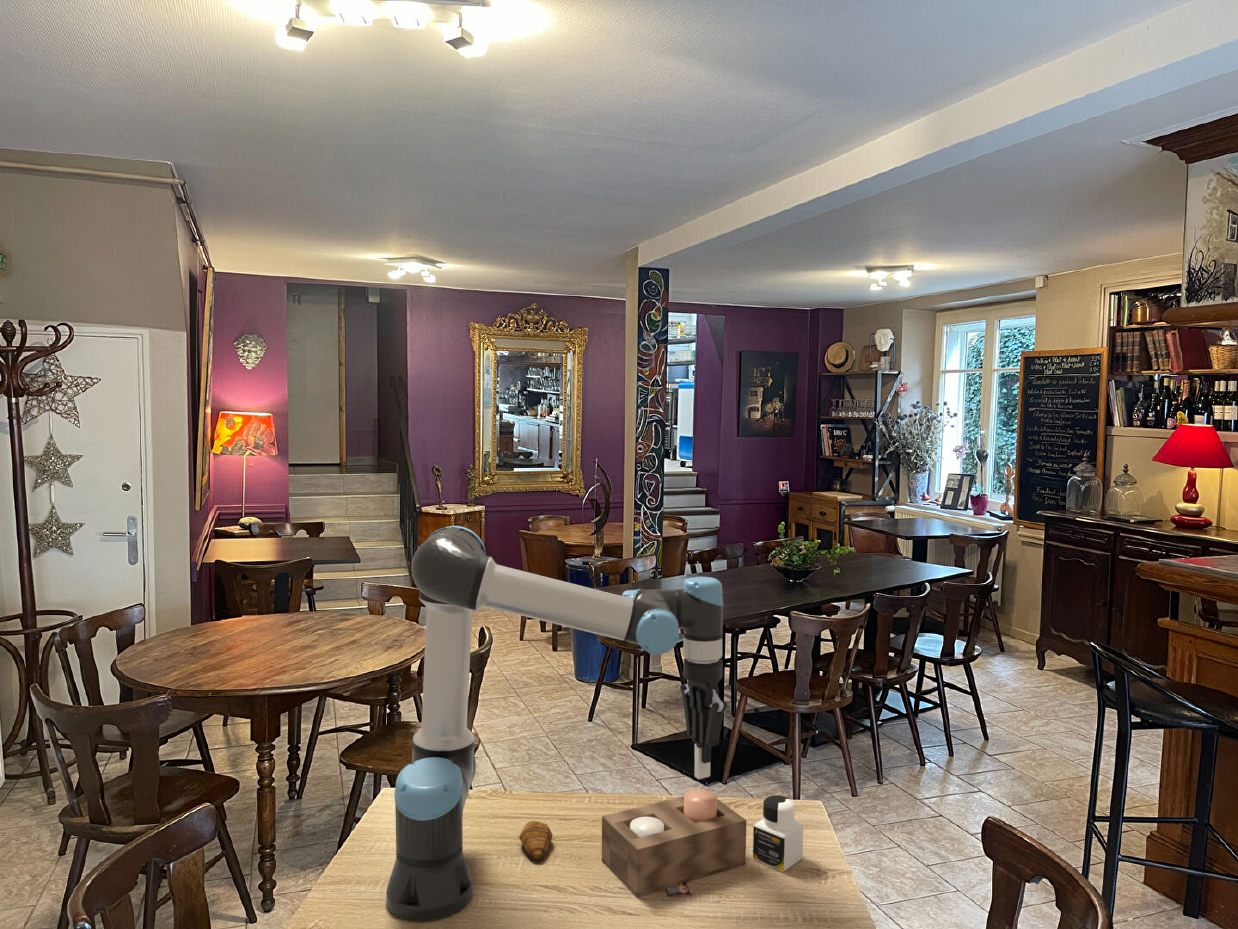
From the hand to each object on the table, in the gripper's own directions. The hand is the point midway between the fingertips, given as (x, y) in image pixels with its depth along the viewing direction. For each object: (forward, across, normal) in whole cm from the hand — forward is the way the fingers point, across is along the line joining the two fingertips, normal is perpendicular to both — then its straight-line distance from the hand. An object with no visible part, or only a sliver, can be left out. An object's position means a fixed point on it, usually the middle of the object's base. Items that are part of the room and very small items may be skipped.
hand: (702, 776), depth 171 cm
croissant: (+16, +18, +28) cm, 37 cm away
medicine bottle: (+17, -8, -12) cm, 22 cm away
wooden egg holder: (+16, 0, +6) cm, 17 cm away
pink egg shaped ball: (+12, 0, 0) cm, 12 cm away
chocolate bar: (+17, -5, +10) cm, 20 cm away
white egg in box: (+15, 0, +12) cm, 19 cm away
